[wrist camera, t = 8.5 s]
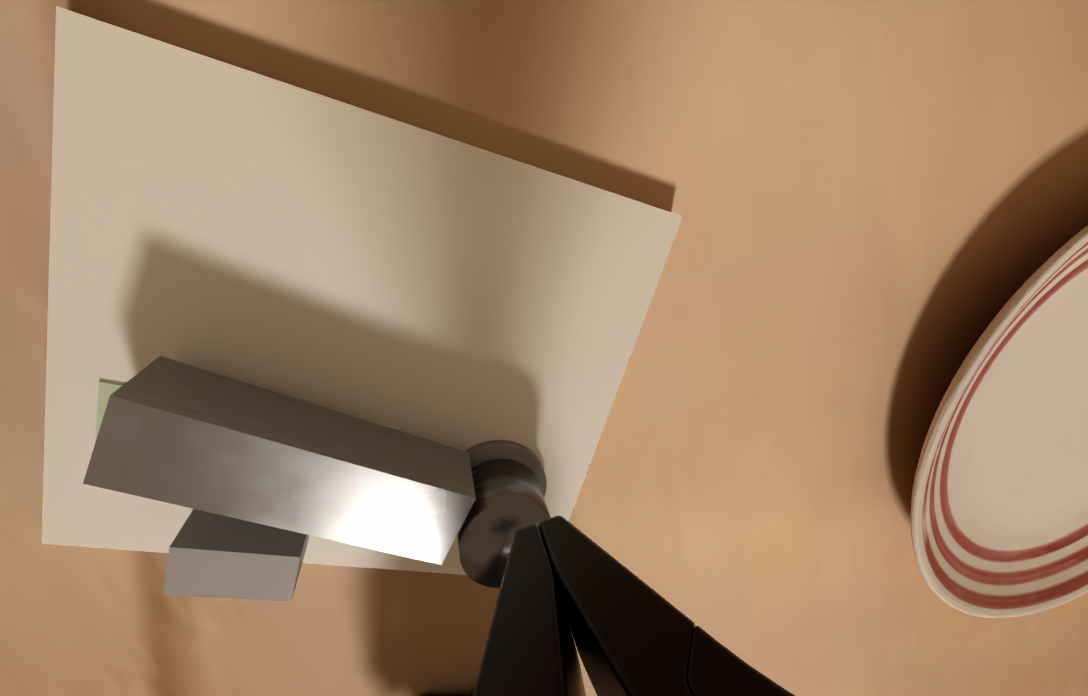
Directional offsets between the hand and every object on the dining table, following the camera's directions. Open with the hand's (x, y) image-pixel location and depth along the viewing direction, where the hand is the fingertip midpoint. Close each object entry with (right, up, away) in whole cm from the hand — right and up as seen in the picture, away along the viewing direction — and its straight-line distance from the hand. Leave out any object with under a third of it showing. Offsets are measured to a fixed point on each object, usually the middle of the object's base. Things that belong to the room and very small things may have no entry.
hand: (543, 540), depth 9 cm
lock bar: (-7, -1, +11) cm, 13 cm away
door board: (-7, +3, +11) cm, 13 cm away
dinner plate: (+31, 0, +22) cm, 38 cm away
